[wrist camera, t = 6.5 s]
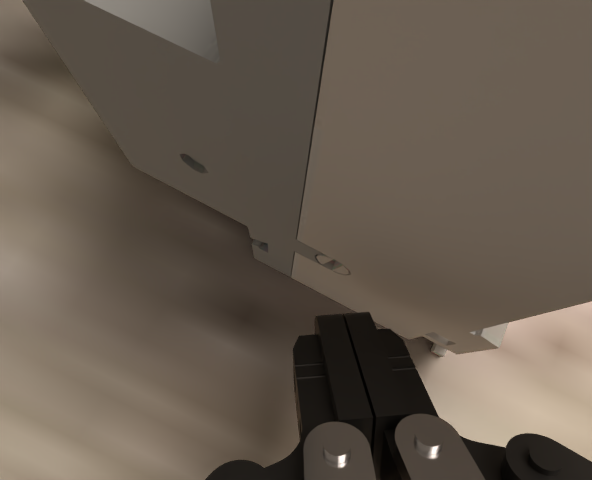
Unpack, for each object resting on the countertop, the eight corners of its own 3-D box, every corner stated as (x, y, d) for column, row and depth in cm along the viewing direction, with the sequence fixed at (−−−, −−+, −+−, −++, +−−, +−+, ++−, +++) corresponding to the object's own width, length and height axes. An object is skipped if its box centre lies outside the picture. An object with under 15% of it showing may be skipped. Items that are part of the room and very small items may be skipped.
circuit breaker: (219, 61, 20) (90, -678, 6) (504, 198, 19) (1207, -363, 5) (126, 190, 18) (-409, -496, 4) (440, 356, 17) (1400, 211, 2)
